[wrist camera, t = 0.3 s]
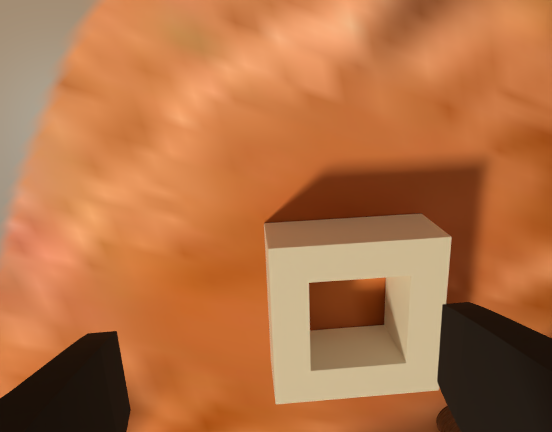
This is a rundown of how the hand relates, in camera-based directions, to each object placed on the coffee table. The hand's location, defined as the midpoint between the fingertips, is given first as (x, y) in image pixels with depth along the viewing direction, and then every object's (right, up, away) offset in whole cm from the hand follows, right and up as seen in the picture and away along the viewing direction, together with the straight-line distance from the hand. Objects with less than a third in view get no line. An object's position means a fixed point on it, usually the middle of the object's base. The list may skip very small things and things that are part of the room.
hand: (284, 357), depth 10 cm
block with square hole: (+3, 0, +11) cm, 11 cm away
